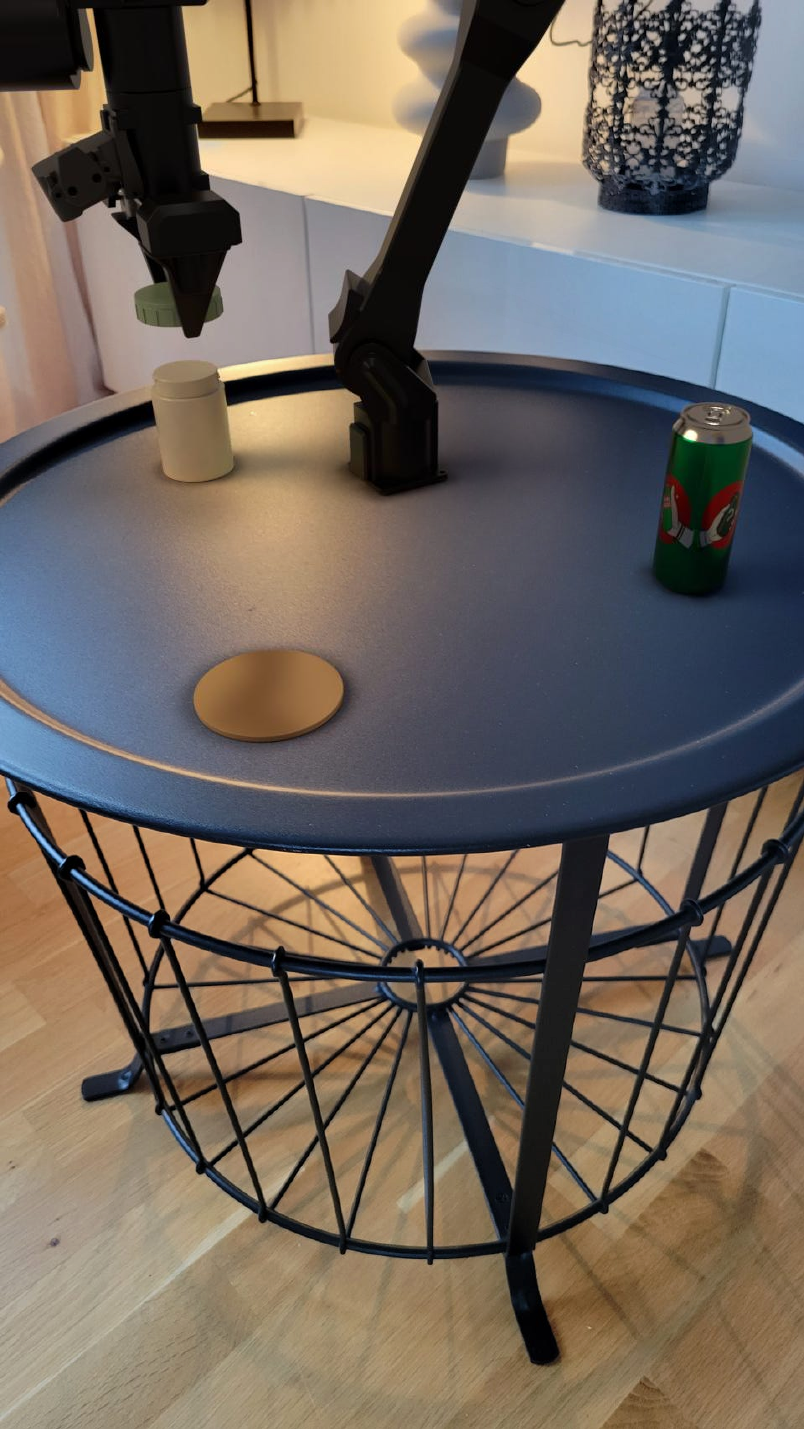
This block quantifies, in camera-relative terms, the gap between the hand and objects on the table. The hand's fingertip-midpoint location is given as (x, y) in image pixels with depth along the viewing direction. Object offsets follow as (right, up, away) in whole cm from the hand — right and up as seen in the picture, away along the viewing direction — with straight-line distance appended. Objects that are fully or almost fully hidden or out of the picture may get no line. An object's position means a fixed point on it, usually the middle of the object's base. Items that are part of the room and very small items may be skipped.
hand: (181, 325), depth 80 cm
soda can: (+37, -20, -6) cm, 43 cm away
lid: (0, +2, -1) cm, 2 cm away
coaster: (+9, -29, -17) cm, 34 cm away
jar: (-1, -8, +10) cm, 13 cm away
